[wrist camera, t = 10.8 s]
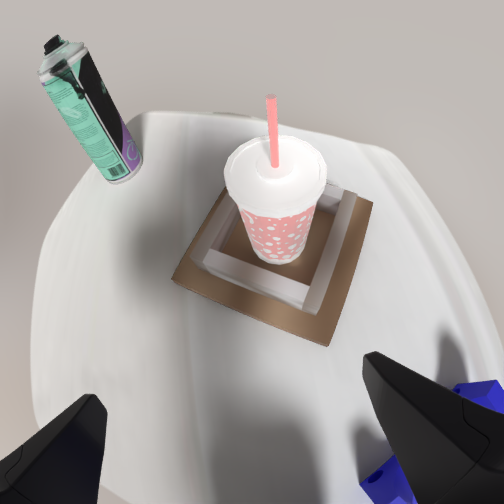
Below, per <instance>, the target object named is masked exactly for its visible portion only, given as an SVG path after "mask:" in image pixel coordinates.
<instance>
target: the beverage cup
mask: <svg viewBox="0 0 504 504" xmlns="http://www.w3.org/2000/svg"><path fill="white" fill-rule="evenodd" d="M266 106H267V117H268V130H269V135H268V136H262V137H257V138H254V139H252V140H250V141H248V142H246V143H244V144H242V145H240V146H239V147H238V148H237V149H236V150H235V151H234V152H233V153H232V154H231V155H230V156H229V157H228V160H227V162H226V165H225V168H224V171H223V172H224V177H225V183H226V187H227V190H228V192H229V195H230V196H231V197H232V199H233V200H234V201H235V202H236V203H237V206H238V209H239V211H240V214H241V217H242V220H243V222H244V225H245V228H246V231H247V233H248V236H249V239H250V242H251V244H252V247H253V250H254V251H255V253H256V254H257V255H258V257H259V258H260V259H262V260H264V261H266V262H267V263H271V264H278V265H281V264H285V263H290V262H291V261H293V260H294V259H296V258H297V257H299V255H300V254H301V252H302V251H303V249H304V247H305V243H306V240H307V236H308V233H309V229H310V226H311V222H312V218H313V215H314V211H315V207H316V204H317V201H318V199H319V197H320V196H321V194H322V193H323V191H324V187H325V185H326V177H327V165H326V163H325V161H324V159H323V157H322V155H321V153H320V152H319V151H317V150H316V149H315V148H314V147H313V146H311V145H310V144H309V143H308V142H305V141H303V140H300V139H297V138H295V137H292V136H284V135H278V123H277V105H276V95H274V94H268V95H267V96H266Z"/></svg>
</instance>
